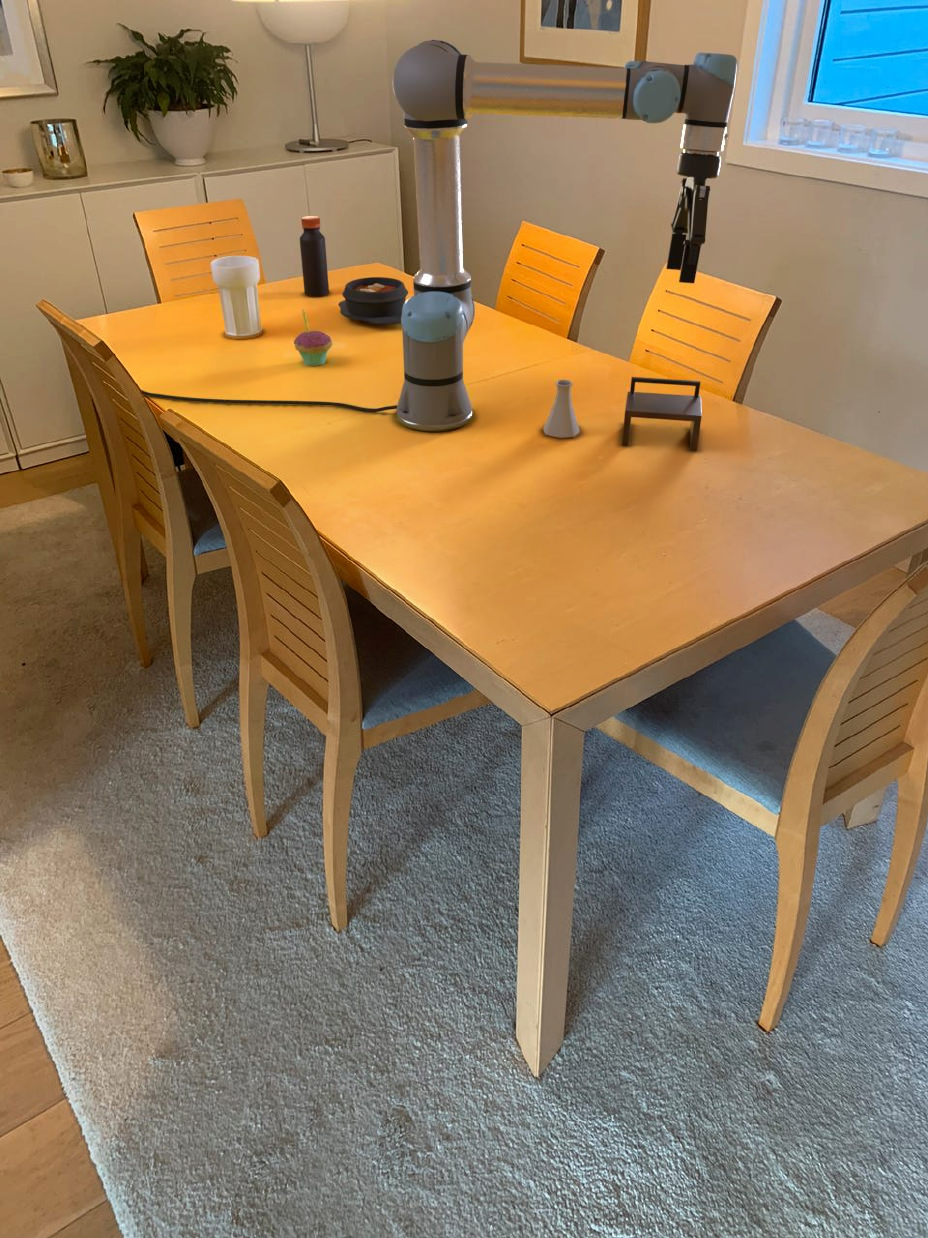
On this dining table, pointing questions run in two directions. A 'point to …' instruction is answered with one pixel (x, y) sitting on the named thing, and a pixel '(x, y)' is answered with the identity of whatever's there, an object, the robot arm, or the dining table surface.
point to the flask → (562, 413)
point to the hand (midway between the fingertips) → (679, 275)
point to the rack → (664, 407)
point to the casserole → (374, 300)
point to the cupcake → (312, 345)
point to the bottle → (313, 258)
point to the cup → (238, 295)
